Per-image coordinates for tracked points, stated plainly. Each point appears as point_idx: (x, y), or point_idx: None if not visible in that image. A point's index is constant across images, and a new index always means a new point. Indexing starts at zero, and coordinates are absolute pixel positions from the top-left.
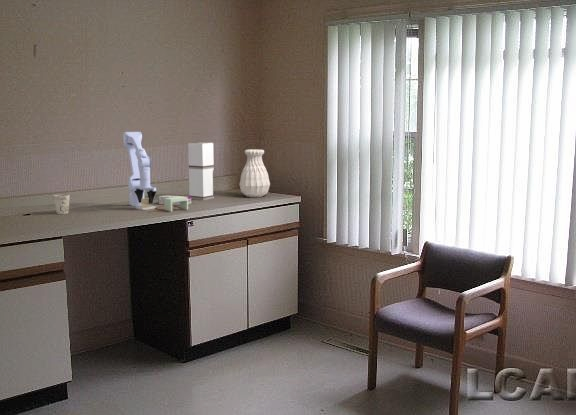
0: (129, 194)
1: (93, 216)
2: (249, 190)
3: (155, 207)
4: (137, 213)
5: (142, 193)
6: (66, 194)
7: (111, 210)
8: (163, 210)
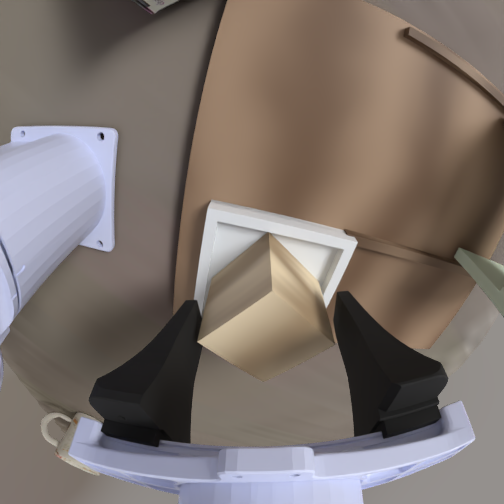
0: None
1: (209, 438)
2: None
3: (354, 241)
4: (313, 364)
5: (165, 373)
6: (60, 455)
7: (113, 361)
8: (452, 269)
